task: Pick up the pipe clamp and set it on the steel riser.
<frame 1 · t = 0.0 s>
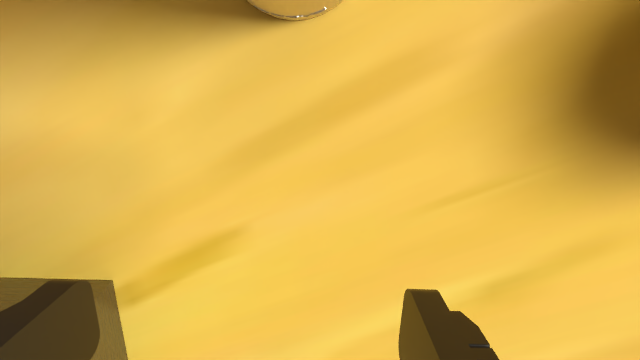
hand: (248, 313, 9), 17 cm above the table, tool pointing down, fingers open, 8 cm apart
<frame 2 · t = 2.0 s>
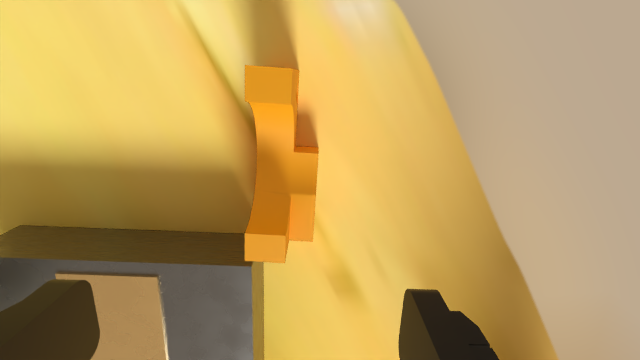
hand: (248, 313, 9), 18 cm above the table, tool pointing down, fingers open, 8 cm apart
steel riser: (152, 311, 31), on the table
pipe clamp: (290, 150, 27), on the table
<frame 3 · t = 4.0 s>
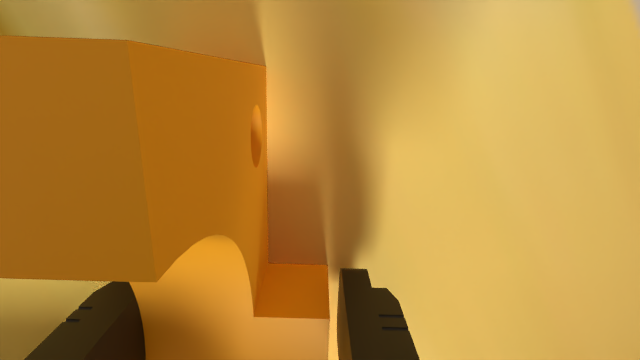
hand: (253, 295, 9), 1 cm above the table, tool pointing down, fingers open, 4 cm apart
pipe clamp: (256, 271, 10), on the table
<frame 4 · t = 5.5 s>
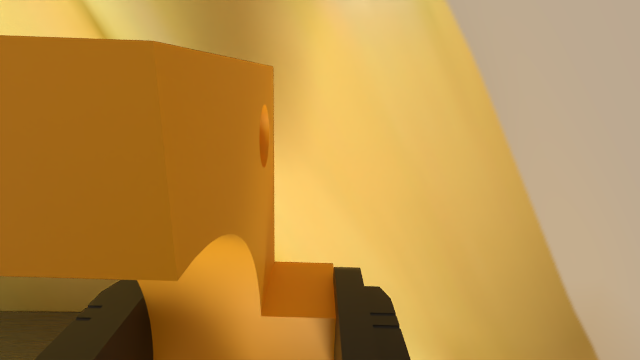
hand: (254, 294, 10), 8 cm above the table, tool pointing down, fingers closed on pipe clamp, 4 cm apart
pipe clamp: (261, 271, 11), point 7 cm above the table, touching gripper
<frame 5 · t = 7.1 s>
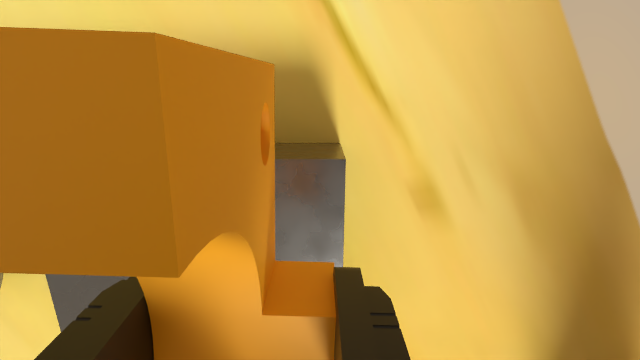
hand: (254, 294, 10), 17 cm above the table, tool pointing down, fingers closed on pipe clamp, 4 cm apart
steel riser: (215, 240, 28), on the table
pipe clamp: (262, 270, 10), point 16 cm above the table, touching gripper
when the fingers open (7 cm above the table, at t = 9.8 s): pipe clamp stays where it is, resting on steel riser.
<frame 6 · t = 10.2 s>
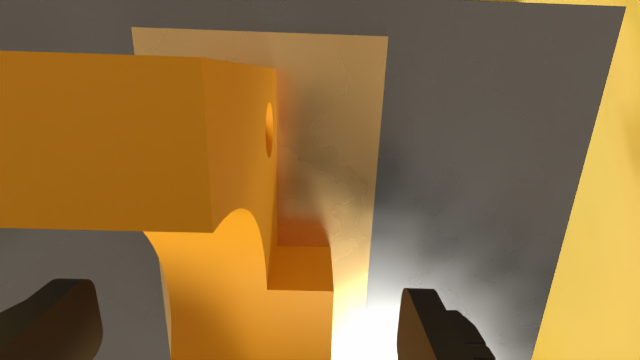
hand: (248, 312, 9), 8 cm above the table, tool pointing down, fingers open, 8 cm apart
steel riser: (280, 203, 16), on the table
pipe clamp: (265, 254, 12), point 5 cm above the table, touching steel riser
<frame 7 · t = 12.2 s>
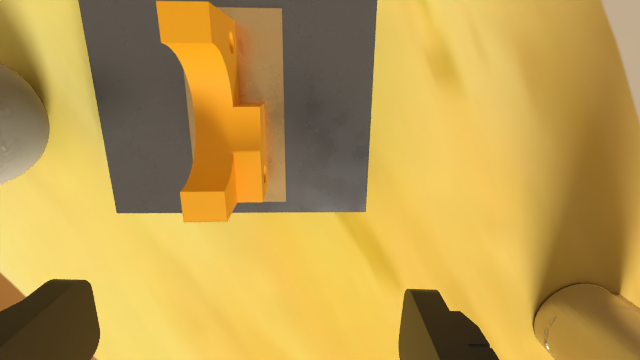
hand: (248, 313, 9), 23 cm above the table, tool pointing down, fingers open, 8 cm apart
grey tall rounded piece: (18, 116, 30), on the table
steel riser: (247, 106, 30), on the table
pipe clamp: (235, 109, 25), point 5 cm above the table, touching steel riser
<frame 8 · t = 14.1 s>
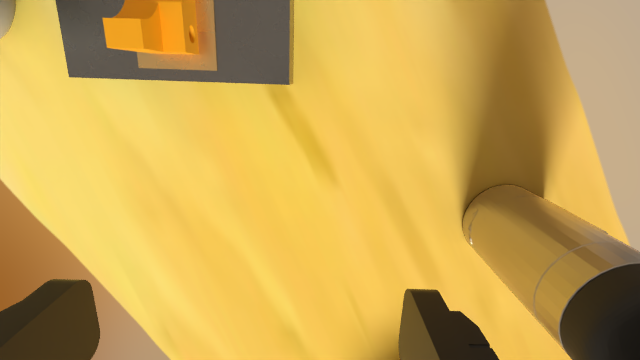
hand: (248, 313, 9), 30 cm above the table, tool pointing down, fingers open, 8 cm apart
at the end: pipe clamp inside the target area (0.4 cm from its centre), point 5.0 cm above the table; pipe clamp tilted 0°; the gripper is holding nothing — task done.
